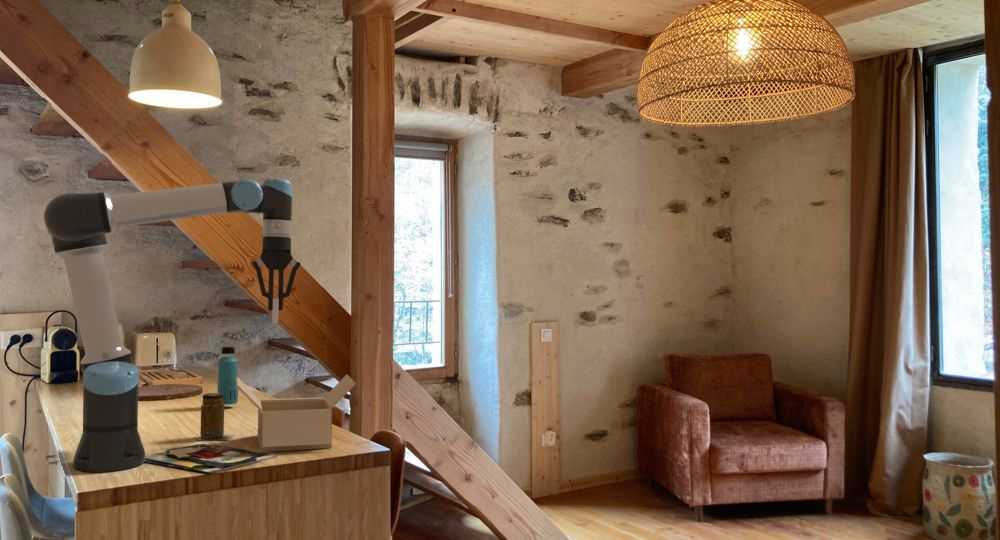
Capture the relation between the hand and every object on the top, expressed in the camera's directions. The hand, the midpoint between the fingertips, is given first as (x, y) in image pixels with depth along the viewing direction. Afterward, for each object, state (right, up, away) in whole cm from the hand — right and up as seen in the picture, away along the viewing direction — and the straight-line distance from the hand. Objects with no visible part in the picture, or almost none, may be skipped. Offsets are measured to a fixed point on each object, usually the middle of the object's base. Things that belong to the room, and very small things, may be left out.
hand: (275, 322), depth 213 cm
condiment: (-17, -32, +1) cm, 36 cm away
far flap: (+3, -22, +5) cm, 22 cm away
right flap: (+14, -22, 0) cm, 26 cm away
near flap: (+9, -22, -11) cm, 26 cm away
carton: (+6, -32, -3) cm, 33 cm away
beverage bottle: (-28, -31, +44) cm, 61 cm away
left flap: (-2, -22, -6) cm, 22 cm away
